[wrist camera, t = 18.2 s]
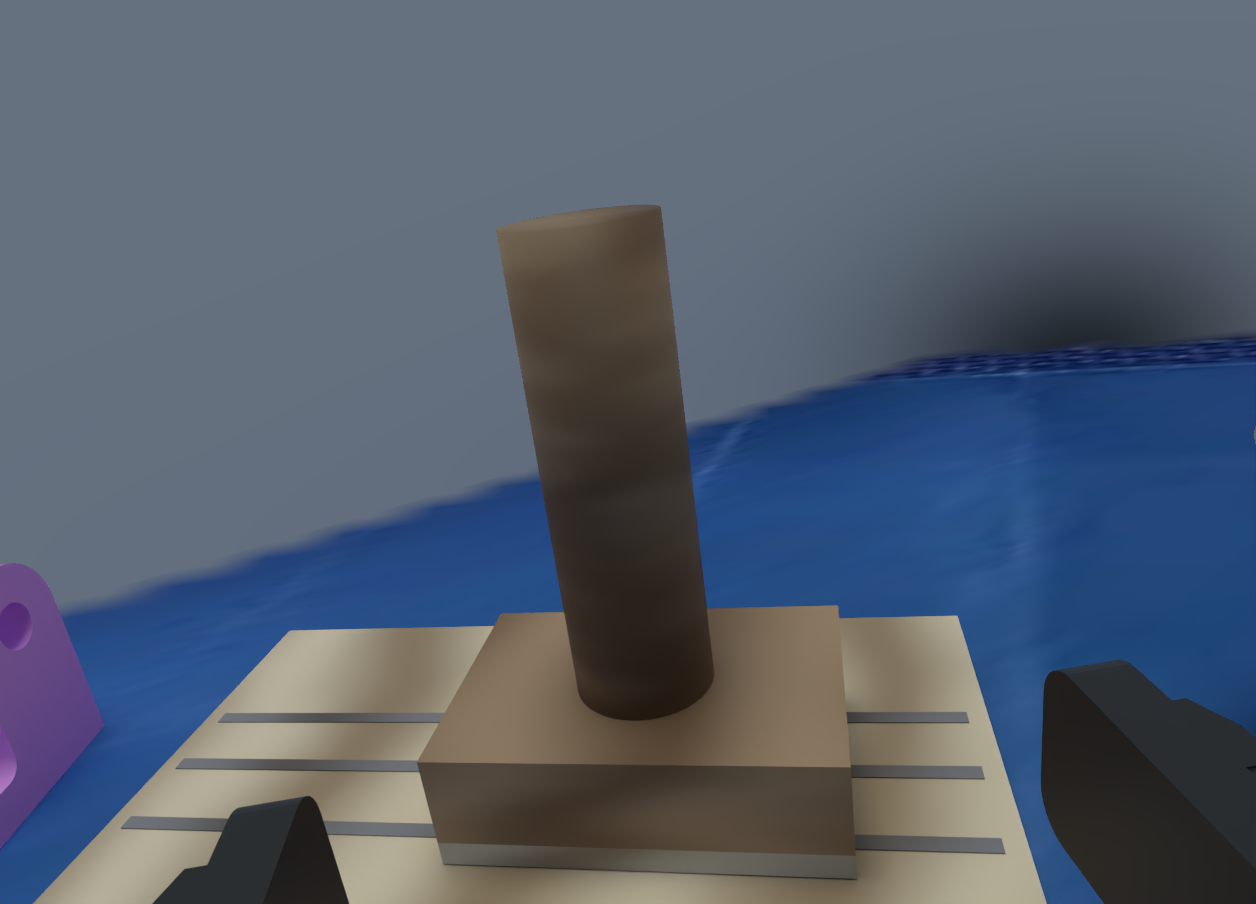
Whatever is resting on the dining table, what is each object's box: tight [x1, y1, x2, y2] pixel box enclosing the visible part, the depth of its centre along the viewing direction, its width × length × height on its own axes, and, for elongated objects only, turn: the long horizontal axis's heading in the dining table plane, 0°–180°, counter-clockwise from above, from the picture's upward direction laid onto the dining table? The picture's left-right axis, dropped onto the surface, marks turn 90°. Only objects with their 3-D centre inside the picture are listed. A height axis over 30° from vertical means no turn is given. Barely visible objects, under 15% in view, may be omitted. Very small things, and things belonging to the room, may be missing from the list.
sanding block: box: [417, 205, 857, 879], centre depth 20 cm, size 9×6×13 cm, turn 80°
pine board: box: [33, 616, 1047, 904], centre depth 23 cm, size 22×14×2 cm, turn 80°
